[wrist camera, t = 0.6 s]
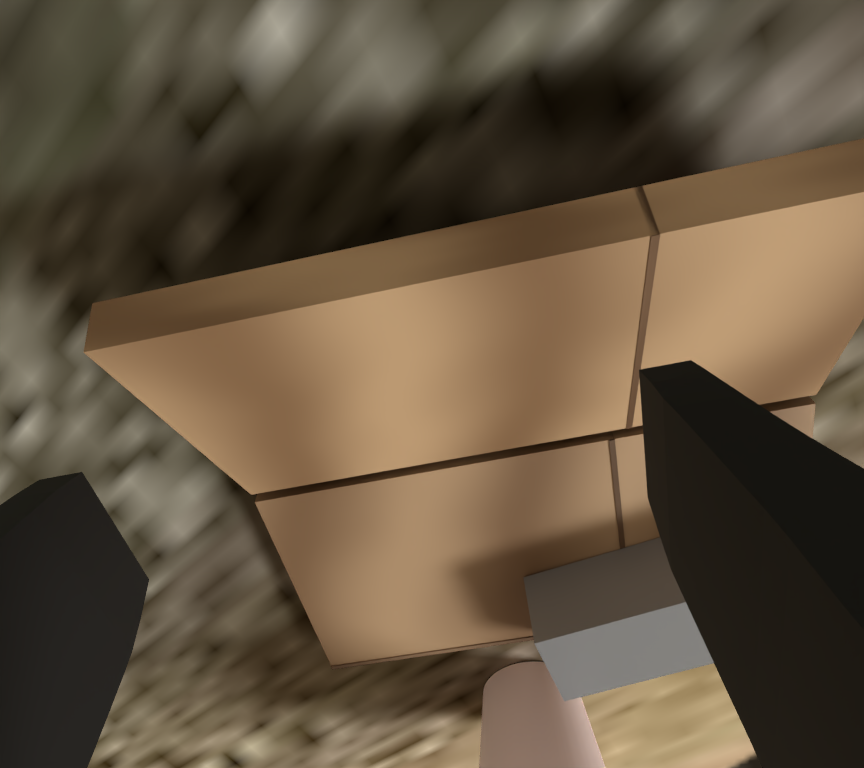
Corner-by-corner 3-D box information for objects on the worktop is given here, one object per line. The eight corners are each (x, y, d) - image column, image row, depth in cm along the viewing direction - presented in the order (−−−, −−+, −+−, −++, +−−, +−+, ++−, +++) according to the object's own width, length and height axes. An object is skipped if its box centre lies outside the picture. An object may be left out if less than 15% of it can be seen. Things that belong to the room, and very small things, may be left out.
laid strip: (795, 380, 20) (816, 404, 19) (781, 572, 24) (798, 601, 23) (263, 476, 22) (254, 503, 20) (336, 640, 26) (332, 669, 25)
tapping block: (744, 512, 21) (781, 576, 19) (758, 576, 22) (795, 642, 20) (523, 577, 22) (534, 643, 20) (551, 634, 24) (564, 701, 22)
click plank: (252, 457, 21) (251, 495, 20) (92, 302, 14) (83, 353, 13) (799, 356, 19) (816, 395, 19) (920, 126, 12) (953, 174, 12)
